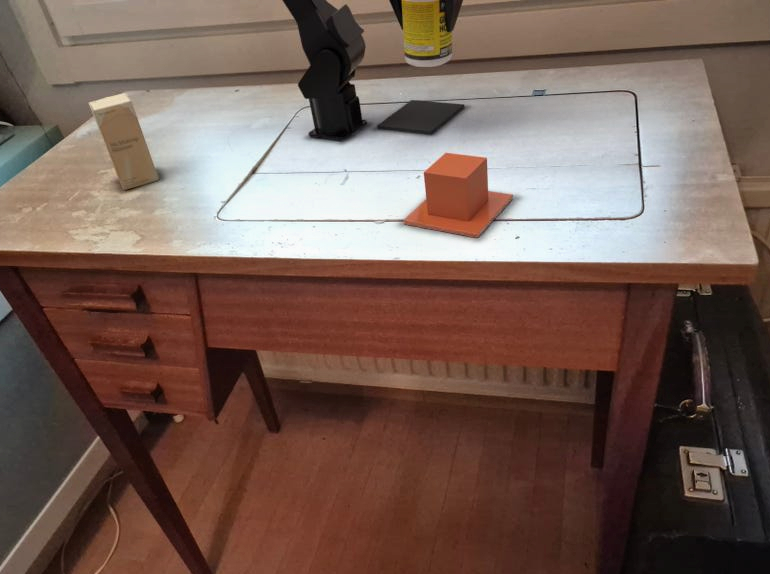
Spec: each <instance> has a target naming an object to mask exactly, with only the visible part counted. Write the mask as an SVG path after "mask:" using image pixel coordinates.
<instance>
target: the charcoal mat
mask: <svg viewBox="0 0 770 574" xmlns="http://www.w3.org/2000/svg"><path fill="white" fill-rule="evenodd" d="M465 106H466V105H465V104H464V103H453V102H441V101H428V100H416V99H411V100H410V101H408V102H407V103H405V104H404V105H403V106H401V107H400V108H399V109H397V110H396V111H395V112H394V113H391V115H389V116H387V118H385V119H384V120H382V121H381V122H380V123H378V124H377V125H376V129H377V130H384V131H385V130H386V131H395V132H404V133H411V134H412V133H413V134H421V135H422V134H423V135H430V136H431V135H433V134H434V133H436V132H437V131H438V130H439V129H440V128H442V127H443V126H444V125H445V124H446V123H448V122H450V121H451V120H452V118H454V117H455V116H456V115H457V114H459V113H460V112H462V110H464V109H465V108H466V107H465Z"/></svg>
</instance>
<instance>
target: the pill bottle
mask: <svg viewBox="0 0 770 574" xmlns="http://www.w3.org/2000/svg"><path fill="white" fill-rule="evenodd" d="M402 16H403V30H402V34H403V53H404V60H405V62H406V64H408V65H410V66H412V67H420V68H433V67H438V66H441V65H445V64H446V63H448V62H450V60H451V59H452V56H453V31H452V32H447V30H446V23H445V1H444V0H402Z"/></svg>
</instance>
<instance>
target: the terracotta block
mask: <svg viewBox="0 0 770 574" xmlns="http://www.w3.org/2000/svg"><path fill="white" fill-rule="evenodd" d="M488 175H489V173H488V157H485V156H484V157H483V156H478V155H477V156H476V155H468V154H462V153H461V154H459V153H451V152H444V153H443V154H442V155H441V156H440V157H439V158H438V159H437V160H435V162H433V163H432V164H431V165H430V166H429V167H428V168H427V169H425V170H424V171H423V180H424V190H425V200H426V201H427V211H428V214H429V215H434V216H440V217H446V218H451V219H457V220H463V221H469V220H470V219H471V218H472V217H473V216H474V215H475V214H476V213H477V212H478V211H479V210H480V209H481V208H482V207H483V205H484V204H485V203H486V202H487V201H488V191H489V176H488Z"/></svg>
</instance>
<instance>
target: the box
mask: <svg viewBox="0 0 770 574" xmlns="http://www.w3.org/2000/svg"><path fill="white" fill-rule="evenodd" d="M88 105H89V108H90V110H91V112H92V115H93V118H94V120H95V123H96V125H97V128H98V130H99V133H100V135H101V138H102V140H103V143H104V145H105V148H106V151H107V153H108V156H109V158H110V161H111V163H112V167H113V169H114V171H115V174H116V176H117V179H118V181H119V184H120V186H121V187H122V190H124V191H126V190H130V189H133V188H137V187H140V186H144V185H146V184H150V183H153V182H157V181H159V180H160V178H159V175H158V171H157V169H156V166H155V164H154V161H153V158H152V154H151V153H150V150H149V146H148V144H147V141H146V139H145V136H144V133H143V130H142V127H141V124H140V121H139V119H138V116H137V112H136V110H135V107H134V105H133V102H132V99H131V98H130V96H129V94H128V93H126V92H122V93H119V94H115V95H111V96H106V97H103V98H100V99H98V100H97V99H96V100H93V101H90V102H88Z"/></svg>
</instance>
